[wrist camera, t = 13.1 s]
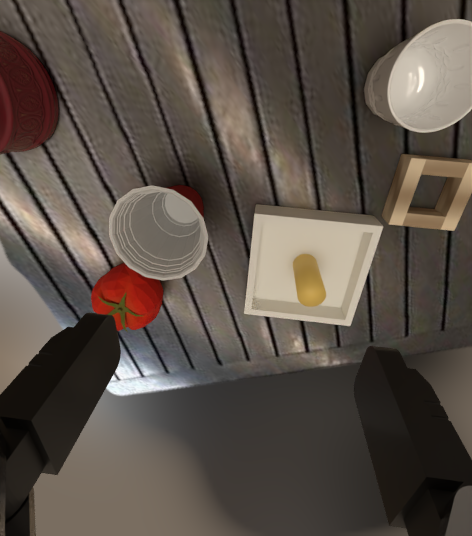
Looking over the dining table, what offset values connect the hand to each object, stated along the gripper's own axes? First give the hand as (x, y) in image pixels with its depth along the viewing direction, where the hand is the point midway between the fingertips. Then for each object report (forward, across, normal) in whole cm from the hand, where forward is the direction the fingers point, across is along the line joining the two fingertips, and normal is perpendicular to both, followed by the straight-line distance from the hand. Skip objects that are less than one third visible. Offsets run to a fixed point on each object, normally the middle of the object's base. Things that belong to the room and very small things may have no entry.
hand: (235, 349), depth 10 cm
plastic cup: (+34, +10, +7) cm, 36 cm away
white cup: (+34, -14, -9) cm, 38 cm away
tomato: (+33, +18, +21) cm, 44 cm away
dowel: (+32, -8, +14) cm, 36 cm away
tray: (+33, -8, +14) cm, 37 cm away
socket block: (+33, -21, +2) cm, 39 cm away
